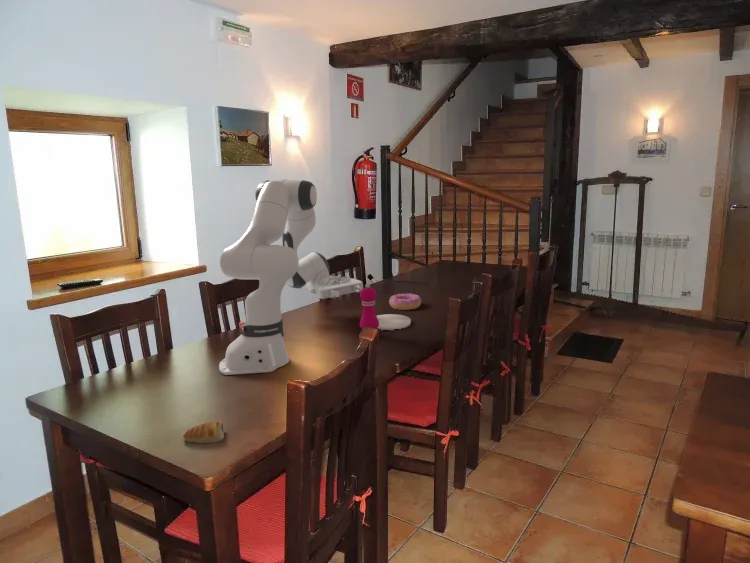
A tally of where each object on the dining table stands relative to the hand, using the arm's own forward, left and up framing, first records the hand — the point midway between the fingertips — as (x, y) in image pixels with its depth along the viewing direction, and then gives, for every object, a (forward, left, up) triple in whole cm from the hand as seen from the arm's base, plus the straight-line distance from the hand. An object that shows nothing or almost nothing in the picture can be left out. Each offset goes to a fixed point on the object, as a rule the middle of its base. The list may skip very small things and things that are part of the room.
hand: (350, 292), depth 207 cm
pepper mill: (+4, -12, -15) cm, 19 cm away
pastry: (-53, -73, -15) cm, 92 cm away
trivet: (+15, 0, -15) cm, 21 cm away
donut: (+30, +23, -15) cm, 41 cm away
